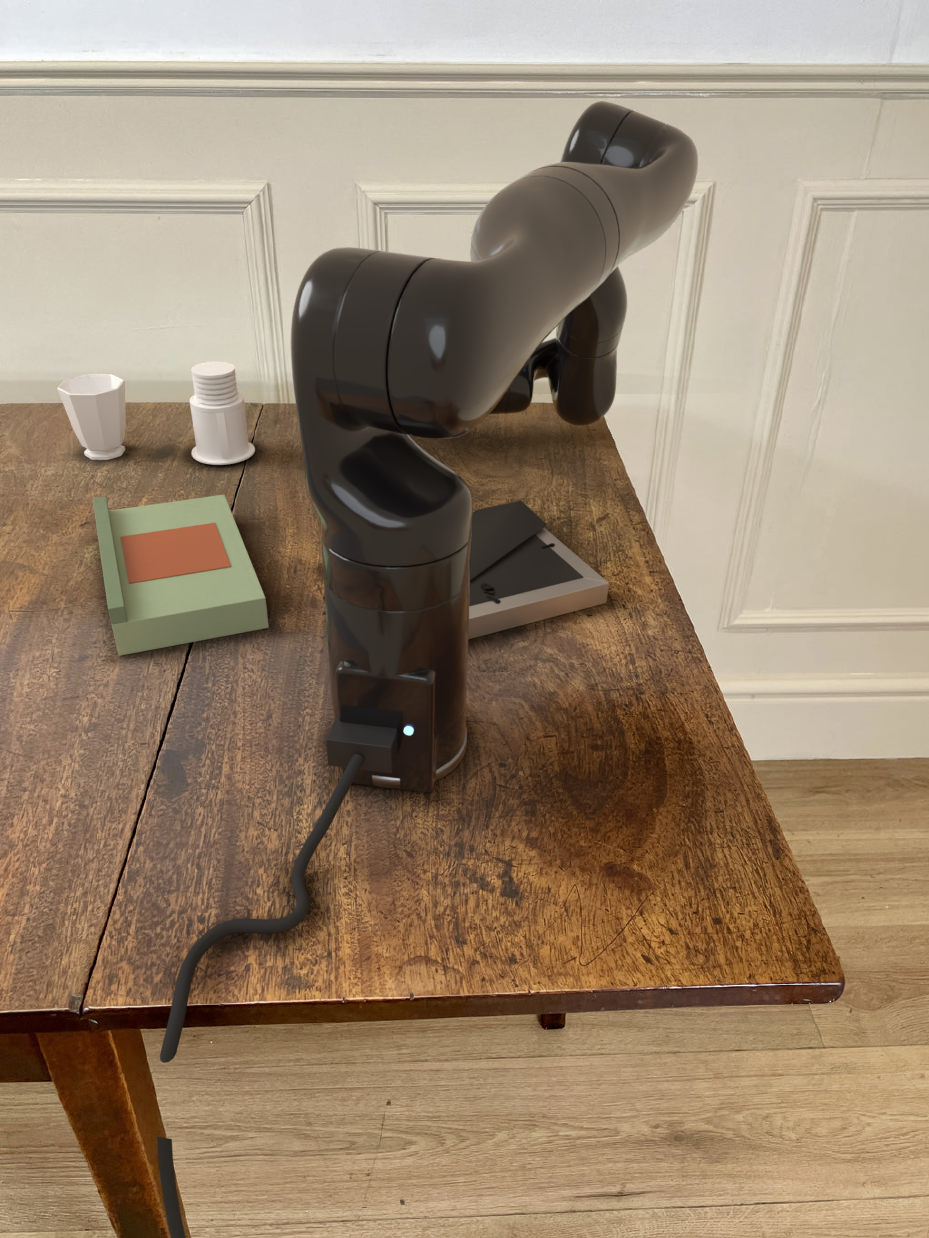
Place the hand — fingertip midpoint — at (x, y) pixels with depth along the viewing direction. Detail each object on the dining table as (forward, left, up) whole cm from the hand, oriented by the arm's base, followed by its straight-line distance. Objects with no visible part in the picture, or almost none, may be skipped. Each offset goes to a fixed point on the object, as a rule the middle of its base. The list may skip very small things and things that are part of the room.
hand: (298, 392), depth 105 cm
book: (-30, +2, -7) cm, 31 cm away
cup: (-4, +22, -7) cm, 24 cm away
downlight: (-3, +8, -7) cm, 11 cm away
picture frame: (-26, -23, -7) cm, 35 cm away
